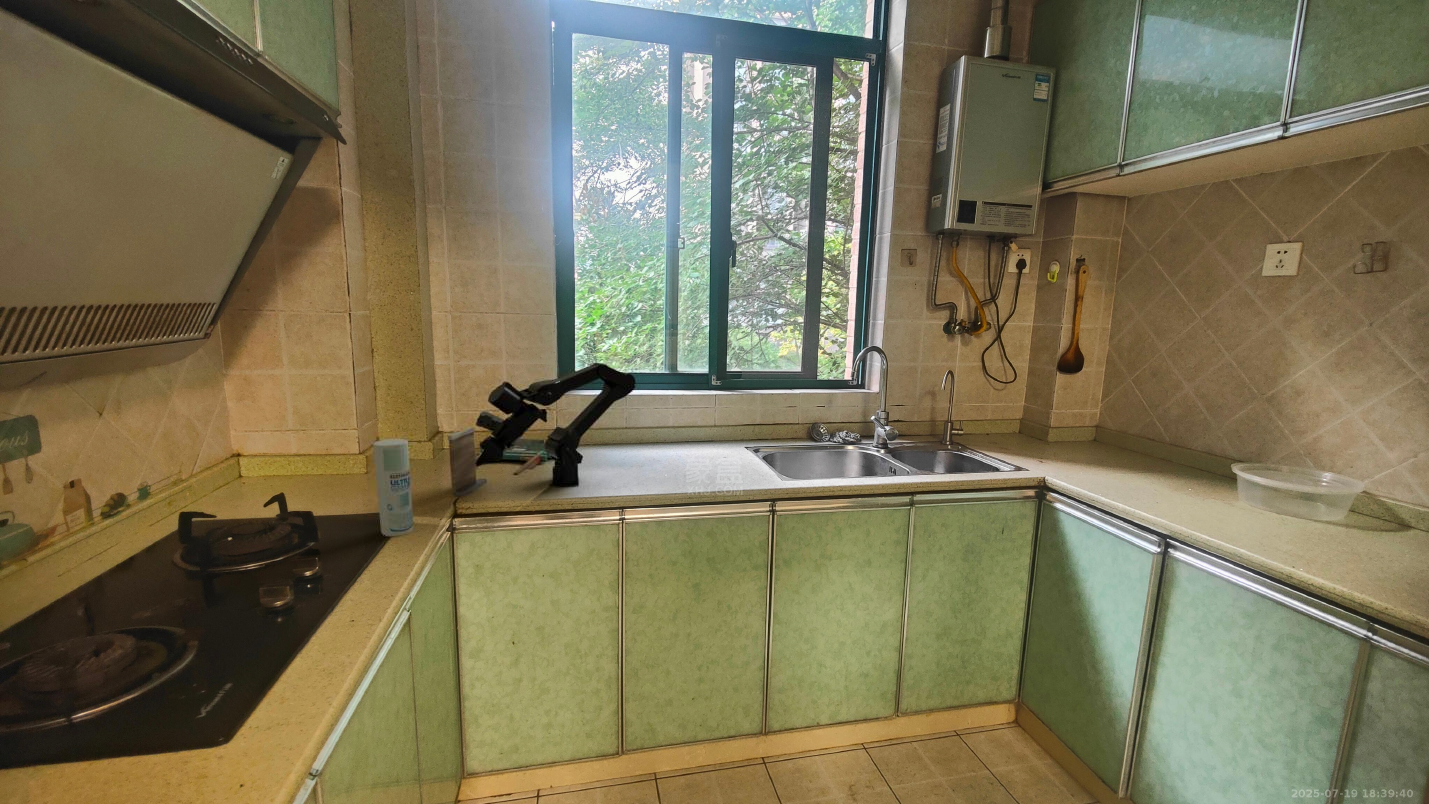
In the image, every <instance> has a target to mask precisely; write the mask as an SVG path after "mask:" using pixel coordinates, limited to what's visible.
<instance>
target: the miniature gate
mask: <svg viewBox="0 0 1429 804" xmlns="http://www.w3.org/2000/svg"><path fill="white" fill-rule="evenodd" d="M545 441H546V440H545V439H544V438H543V439H535V438H534V439H533V438H519V439H518V440H517V441H516V442H515V443H514V444H513V445H512V446H511V447H510V448H507V447H506V446H505V447H506V450H507V451H506V454H505V455H504V457H503V458H502V459H501V460H514V461H515V460H516V461H517V460H519V461H526V462H525V463H524V464H522V465H521V466H520V467H519V468H518V469H516V471H513V473H512V474H513V475H514V476H515V475H517V476H518V475H520V474H521V473H523V472H524V471H526V470H530V471H531V470H532V469H533V468H535V467H536V466H537V465H538V464H540V463H541V462H542V461H543V462H544V461H547V460H548V459H547V458H550V459H549V460H552V459H551V457H550V455H549V454H547V453H546V451H545ZM482 442H483V440H482V441H481V440H479V445H480V444H481V443H482ZM479 448H480V452H479V451H478V452H476V455H475V463H476V461H477V460H478V458H479V457H480V455H481V454H482V452H483V451H484V450H483V449H482V448H481V447H480V446H479ZM475 465H476V464H475ZM476 467H478V466H477V465H476Z"/></svg>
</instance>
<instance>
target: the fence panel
mask: <svg viewBox="0 0 1429 804" xmlns="http://www.w3.org/2000/svg"><path fill="white" fill-rule="evenodd" d="M475 429H476V427H473V426H471V427H468V428H464V429H462V430H459V431H457V432H454V433H450V434H448V435H447V441H448V445H449V446H448V449H449V466H450V479H451V480H450V481H451V493H452V494H455V492H456V491H458V490H460V489H461V488H463V487H465V486H467V485H469V484H471V483H472V482H474V481H476V480H477V470H476V469H477V468H476V467H477V466H476V465H475V457H476V451H475V450H476V447H475V431H476V430H475Z"/></svg>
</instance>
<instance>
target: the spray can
mask: <svg viewBox="0 0 1429 804" xmlns="http://www.w3.org/2000/svg"><path fill="white" fill-rule="evenodd" d="M372 445H373V446H372V447H373V456H374V468H375V469H374V470H375V480H376V487H377V488H376V490H377V499H378V500H377V502H378V510H379V511H378V513H379V521H380V524H379V525H380V533H381V535H382V534H383V535H382V536H384V535H385V537H399V536H403V535H406V534H409V533H411V532H412V531H413V530H414V516H413V515H414V514H413V513H414V512H413V501H412V485H411V471H410V470H411V469H410V453H409V441H408V440H407V439H405V438H404V439H403V438H388V439H387V438H386V439H381V440H377V441H374V442H373V444H372Z"/></svg>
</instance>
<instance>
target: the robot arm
mask: <svg viewBox="0 0 1429 804" xmlns="http://www.w3.org/2000/svg"><path fill="white" fill-rule="evenodd" d="M597 380H599V381H602V382H603V385H602V389H601V391H600V393H599V394H597V396H596V397H595V398H594V399H593V400H592V401H591V402H590V403H589V404H588V405H587V406H586V407H585V408H584V409H583V410H581V412H580V413H579V414H578V415H577V417H575V418H574V419H573V420H572V421H571V423H569V424H568V425H567V426H565V427H560V426H556V427H555V428H554V429H553V431H552V432H551V433H550V434H548V435H547V436H546V437H547V438H546V440H544V444H545V451H546V453H547V454H549V455H550V457H551V459H550V460H551V461H554V465H553V466H552V483H553V484H554V487H555V486H560V487H574V485H578V486H579V485H580V478H579V465H580V464H582V461H583V459H584V456H583V454H581V453H580V452H579V451H577V450H578V448H579V445H580V442H581V439H582V437H583V436H585V434H586V433H587V431H589V430H590V429H591V427H592V426H593V425H594V424H595V423H597V421H598V420H599V419H600V418H601V417H602V416H603V415H604V414H605V412H606V411H607V410H608V409H609V408H610V407H612V406H613V404H614V403H615V402H618V401H619V400H622V399H623V398H626V397H627V396H628V395H629V394H631V393H632V392H633V391H634V390H635V389H636V387H637V385H636V378H635V376H634V375H633V374H631V373H628V372H622V371H620V370H617V369H615V368H613V367H611V366H609V365H607V364H606V363H601V362H593V363H592V364H590V365H588V366H586V367H583V368H581V369H579V370H576V371H573V372H571V373H568V374H566V375H563V376H562V377H558V378H553V379H546V380H545V379H543V380H541V381H535V382H532V383H531V384H530V385H528V387H527V388H524V389H521V390H518V389H517V388H515V386H513V385H512V384H511V383H510V382H509V381H503V382H502V384H499V385H498V386H497V387H496V388H495V389H493V390H492V391H491V392H490V394H489V395H488V398H487V402H488V403H489V404H490V405H492V406H493V407H495V408H496V409H498V410H499V411H500V412H502V413H503V414H505V415H507V417H506V418H505V419H504V418H502V417H499V416H498V415H495V414H493V413H490V412H488V411H481V412H480V413H479V416H478V417H477V419H476V423H475V425H476V427H479V428H482V429H483V428H484V429H486V430H488V431H490V432H491V433H490V435H489V436H487V437H485V438H484V439H483V440H482V443H481V444H480V443H479V444H478V446H479V448H480V447H481V448H482V449H483V450H484V451H483V452H482V454H481V455H480V457H479V458H478V460H477V461H476V463H475V464H476V465H477V466H476V467H480V466H483V465H484V464H487V463H490V462H492V461H496V462H499V461H501V460H503V459H502V458H503V457H504V455H505V454H506V451H507V450H506V447H507V448H510V447H511V446H512V445H513V444H514V443H515V442H516V441H517V440H518V439H521V437H523V435H524V434H525V433H526V432H527V431H528V430H530V429H531V427H532V426H533V425H534V424H535V423H536V422H537V421H538V420H539V419H540V420H541V421H543V423H547V422H548V417H547V415H548V411H547V409H546V408H539V407H538V406H537V405H540V406H543V407H548V406H551V405H553V404H554V403H556V402H558V401H559V400H560V399H562V397H563V396H564V395H565V394H567V393H569V392H571V391H574V390H577V388H580V387H583V386H585V385H587V384H590V383H592V382H595V381H597ZM528 402H531V403H528ZM508 415H509V416H508ZM491 435H492V436H491ZM505 446H506V447H505Z"/></svg>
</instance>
